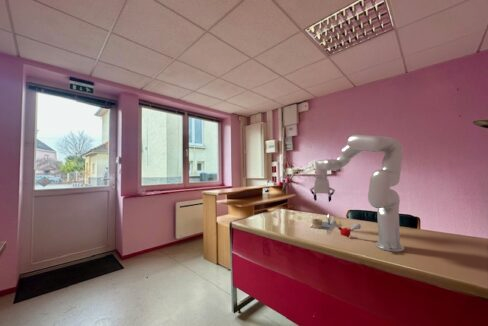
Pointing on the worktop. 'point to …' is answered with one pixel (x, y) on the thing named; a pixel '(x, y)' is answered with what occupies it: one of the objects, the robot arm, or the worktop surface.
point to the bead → (317, 223)
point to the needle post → (329, 219)
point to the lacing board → (325, 226)
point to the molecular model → (344, 230)
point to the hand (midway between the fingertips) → (322, 201)
